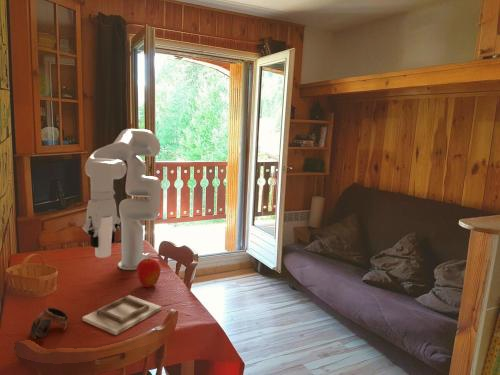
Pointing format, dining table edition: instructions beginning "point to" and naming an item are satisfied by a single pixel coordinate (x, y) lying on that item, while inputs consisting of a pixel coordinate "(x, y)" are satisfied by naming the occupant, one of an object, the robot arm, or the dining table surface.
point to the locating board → (121, 314)
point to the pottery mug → (47, 322)
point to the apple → (148, 272)
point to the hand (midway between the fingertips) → (102, 244)
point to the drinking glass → (104, 238)
